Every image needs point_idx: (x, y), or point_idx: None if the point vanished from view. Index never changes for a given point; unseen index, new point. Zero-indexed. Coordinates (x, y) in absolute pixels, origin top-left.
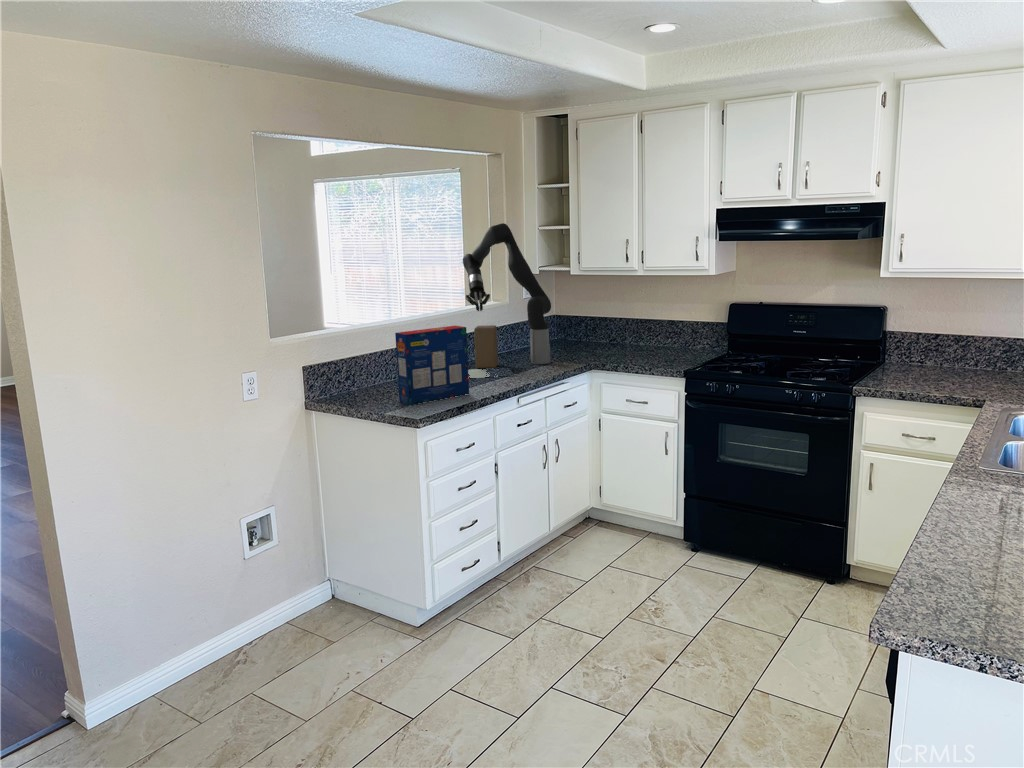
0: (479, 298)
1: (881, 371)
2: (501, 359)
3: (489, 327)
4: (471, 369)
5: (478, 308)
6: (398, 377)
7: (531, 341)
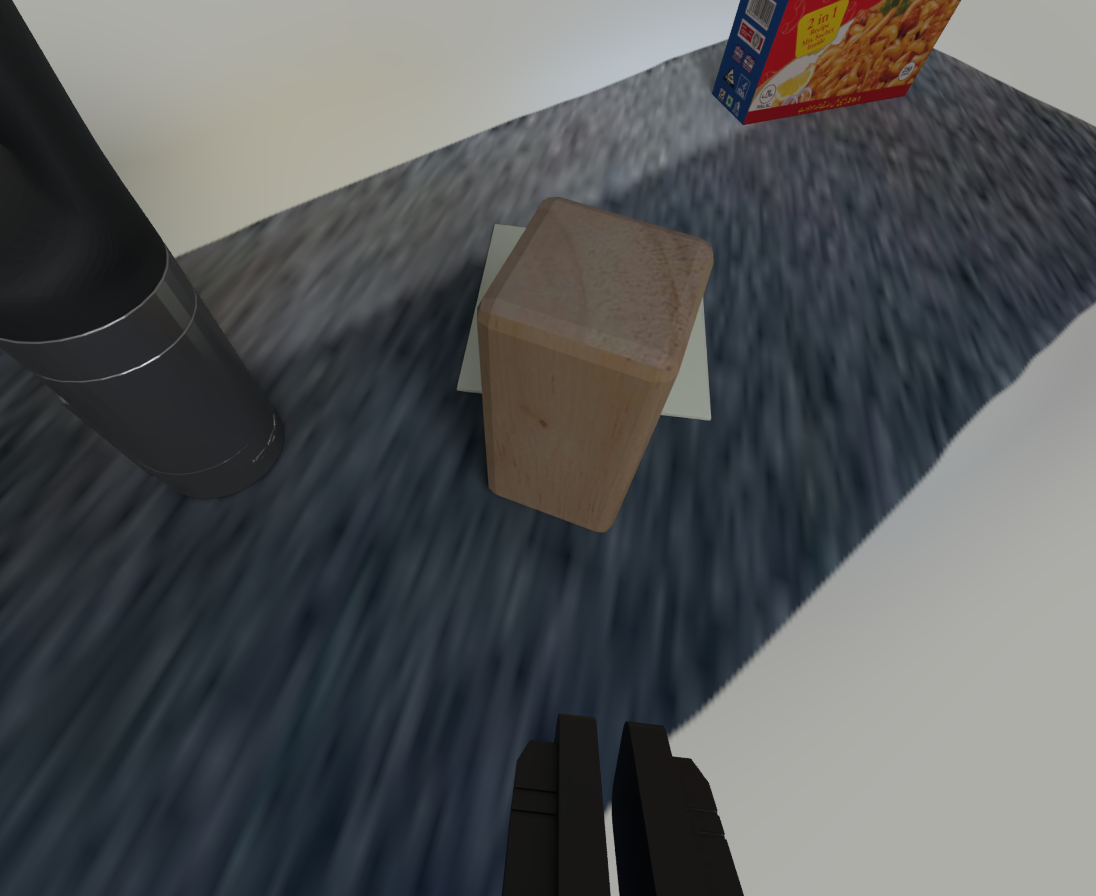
0: None
1: None
2: (380, 717)
3: (582, 207)
4: (668, 413)
5: (648, 726)
6: (952, 9)
7: (220, 342)
